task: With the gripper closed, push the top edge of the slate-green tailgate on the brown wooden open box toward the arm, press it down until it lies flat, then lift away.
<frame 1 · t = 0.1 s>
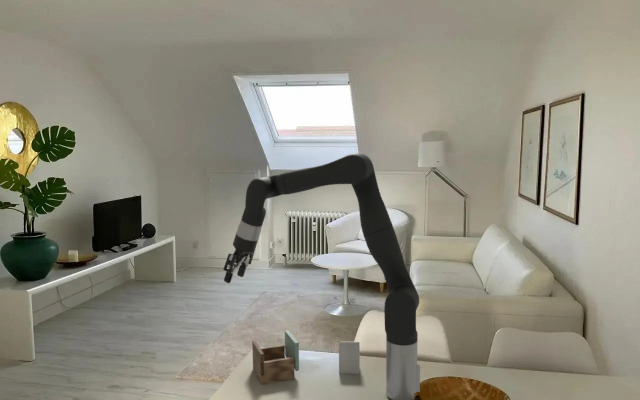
hand: (233, 279, 169), 31 cm above the table, tool tilted 20°, fingers open, 8 cm apart
tailgate: (291, 350, 170), point 7 cm above the table, hinge at 0.0°
grey wedge block: (349, 371, 170), on the table
brown wooden open box: (274, 373, 169), on the table
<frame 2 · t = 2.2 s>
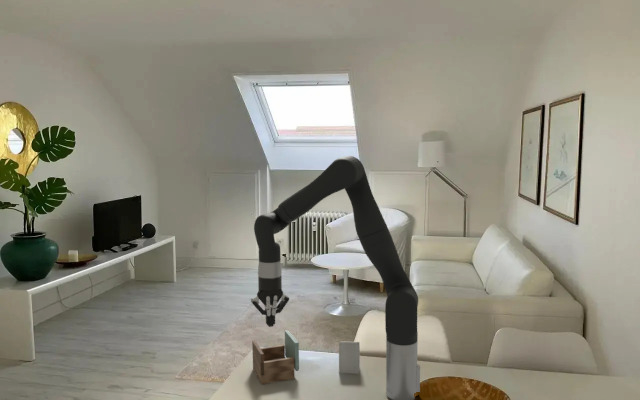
hand: (270, 325, 166), 17 cm above the table, tool pointing down, fingers closed
nothing on the table moved.
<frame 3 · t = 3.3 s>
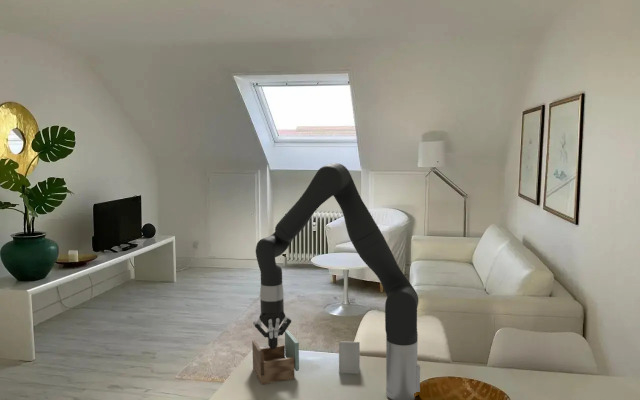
hand: (273, 348, 167), 9 cm above the table, tool pointing down, fingers closed
nothing on the table moved.
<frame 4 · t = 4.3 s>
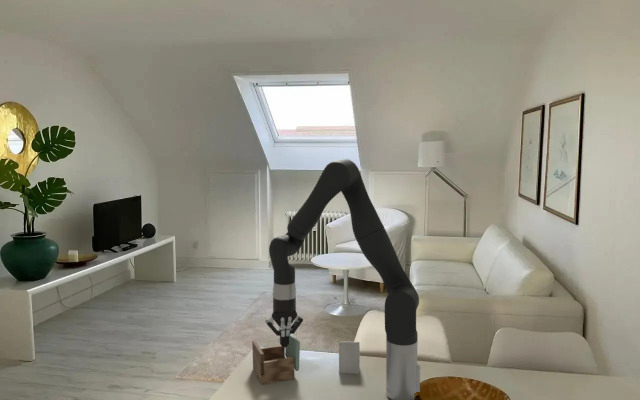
hand: (284, 346, 169), 9 cm above the table, tool pointing down, fingers closed
tailgate: (292, 350, 170), point 7 cm above the table, hinge at 2.7°, touching gripper
everything else where it was.
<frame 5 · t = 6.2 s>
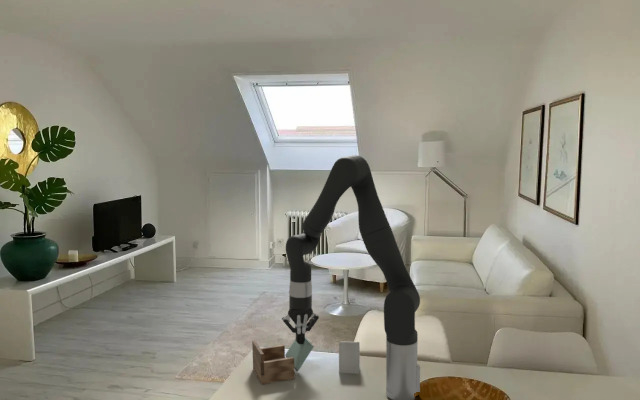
hand: (300, 343, 171), 9 cm above the table, tool pointing down, fingers closed
tailgate: (298, 351, 171), point 6 cm above the table, hinge at 36.7°, touching gripper
everything else where it was.
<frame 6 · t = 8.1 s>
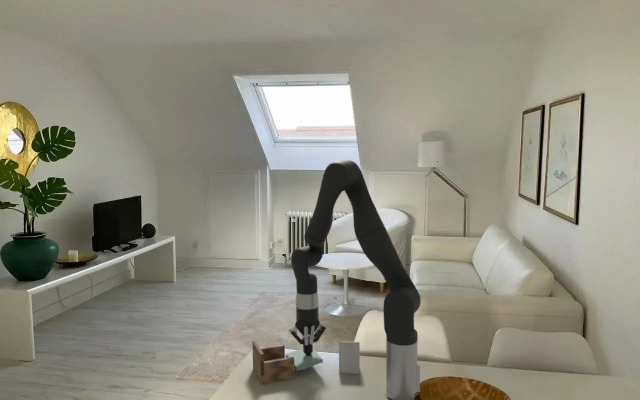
hand: (308, 354, 172), 5 cm above the table, tool pointing down, fingers closed
tailgate: (303, 358, 172), point 4 cm above the table, hinge at 80.3°, touching gripper
everything else where it was.
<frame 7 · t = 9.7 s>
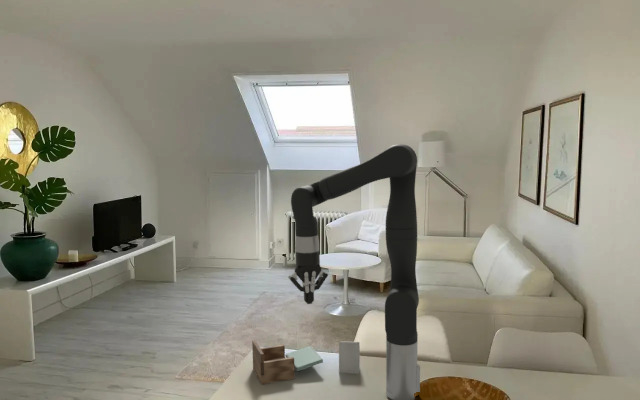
hand: (309, 303, 161), 26 cm above the table, tool pointing down, fingers closed
tailgate: (303, 358, 172), point 4 cm above the table, hinge at 80.4°
everything else where it was.
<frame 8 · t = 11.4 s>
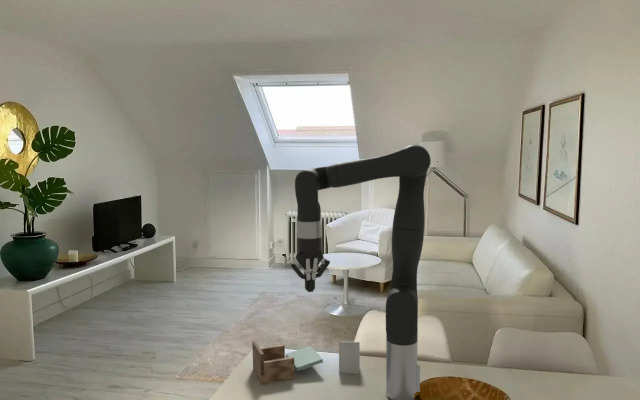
hand: (310, 291, 155), 31 cm above the table, tool pointing down, fingers closed
nothing on the table moved.
at the end: tailgate at +80° (first picture: +0°); grey wedge block moved 0.3 cm from its start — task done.
